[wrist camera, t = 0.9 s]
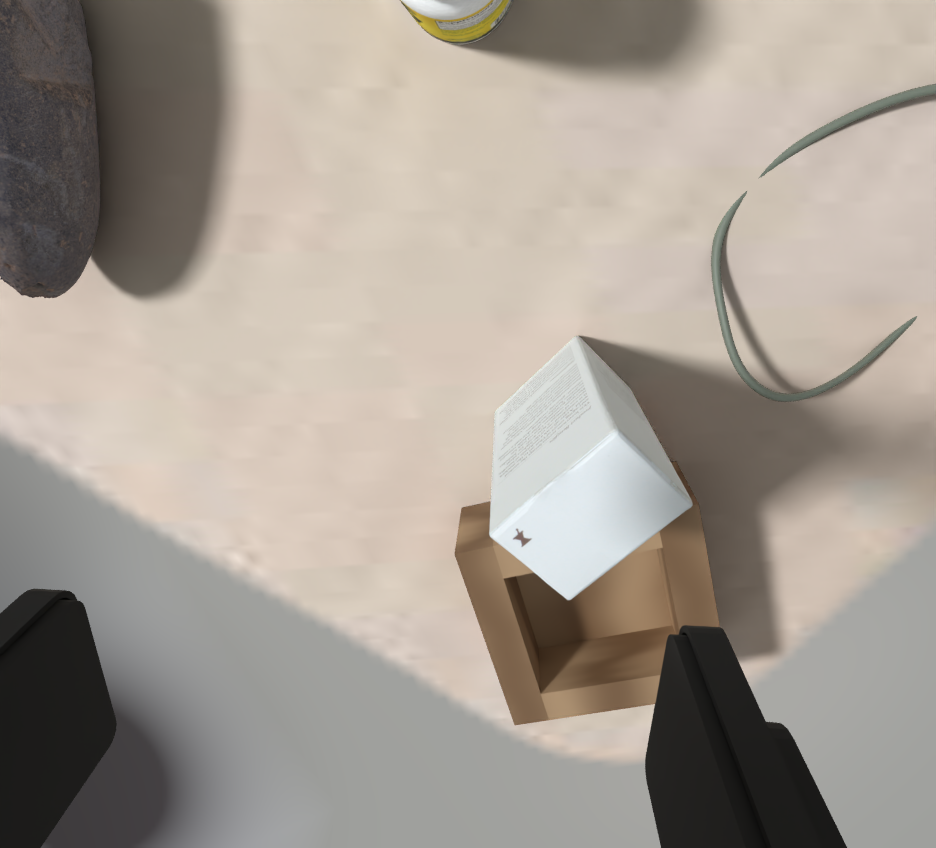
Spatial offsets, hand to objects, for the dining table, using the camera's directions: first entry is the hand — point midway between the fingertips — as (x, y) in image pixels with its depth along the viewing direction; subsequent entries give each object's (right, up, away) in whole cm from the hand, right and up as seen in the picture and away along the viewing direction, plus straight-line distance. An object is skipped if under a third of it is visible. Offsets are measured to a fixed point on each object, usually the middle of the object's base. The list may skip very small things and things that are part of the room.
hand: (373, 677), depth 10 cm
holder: (+9, -5, +27) cm, 28 cm away
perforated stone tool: (-17, +18, +19) cm, 31 cm away
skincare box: (+6, +5, +23) cm, 24 cm away
